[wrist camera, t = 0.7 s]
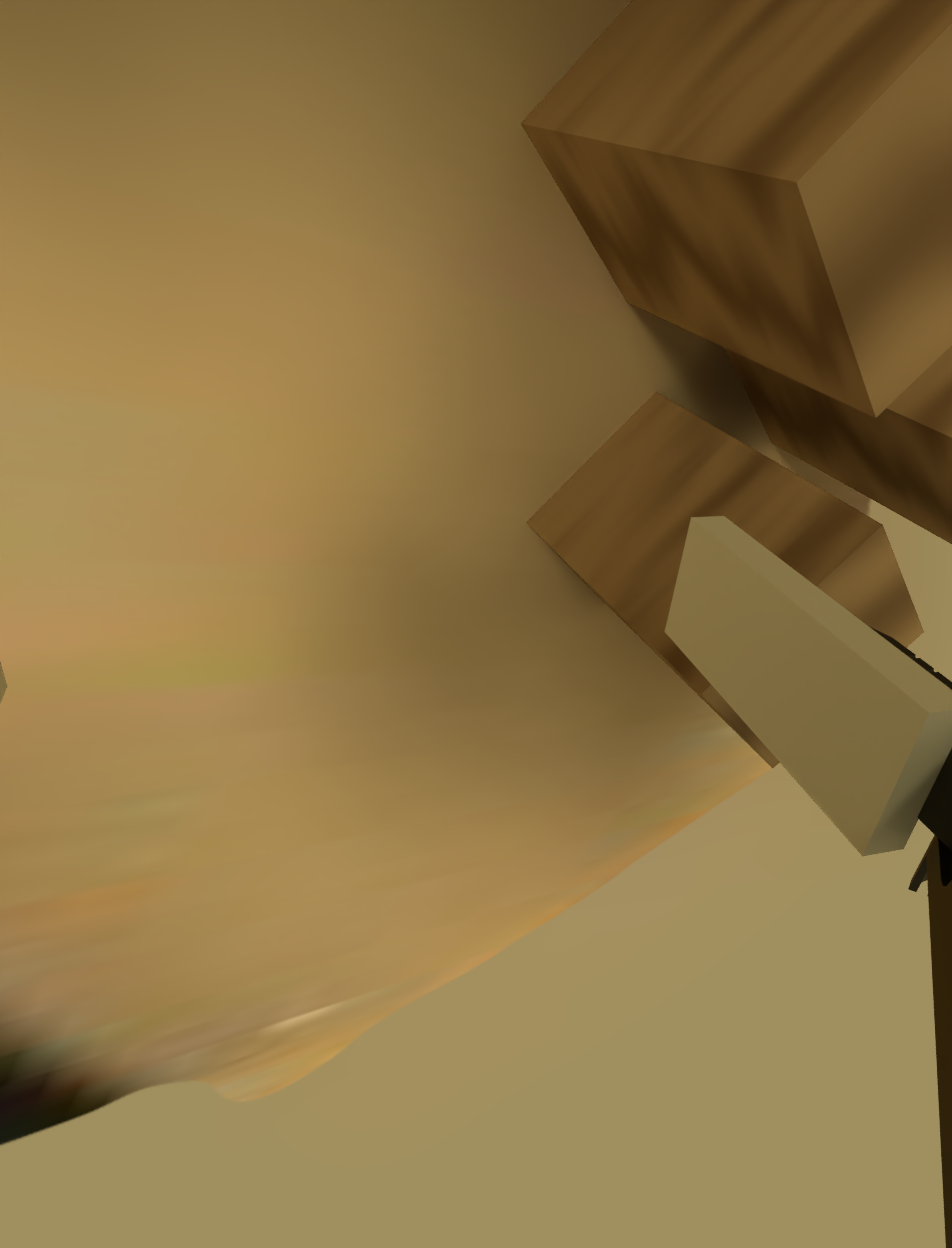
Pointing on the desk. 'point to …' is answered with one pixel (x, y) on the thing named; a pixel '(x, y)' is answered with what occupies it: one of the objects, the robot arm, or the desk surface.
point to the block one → (868, 438)
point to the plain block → (702, 487)
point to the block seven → (772, 179)
